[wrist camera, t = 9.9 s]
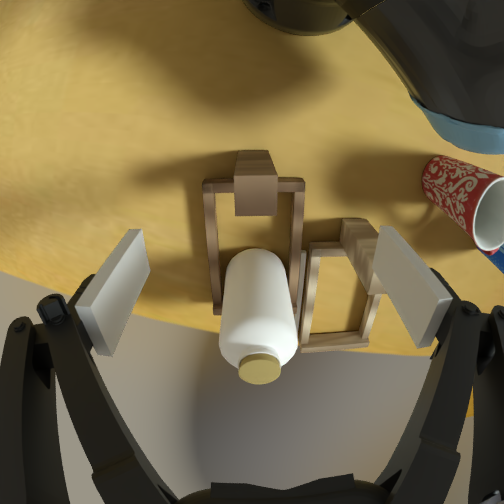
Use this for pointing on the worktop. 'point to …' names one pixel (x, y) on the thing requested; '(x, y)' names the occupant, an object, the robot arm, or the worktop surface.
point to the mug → (468, 199)
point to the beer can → (496, 258)
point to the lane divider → (300, 287)
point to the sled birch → (361, 257)
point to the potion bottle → (257, 316)
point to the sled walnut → (254, 212)
